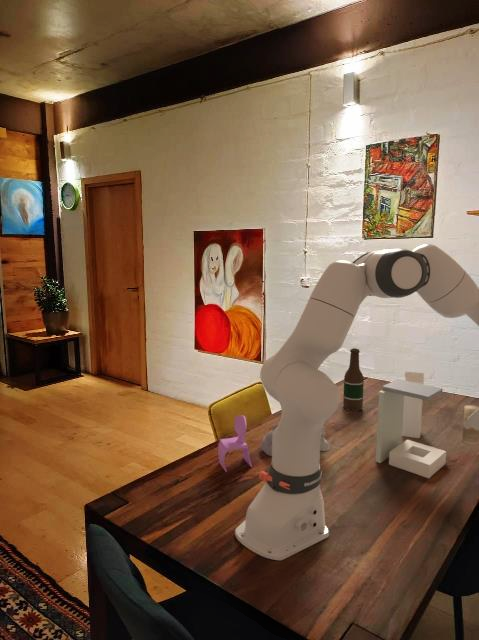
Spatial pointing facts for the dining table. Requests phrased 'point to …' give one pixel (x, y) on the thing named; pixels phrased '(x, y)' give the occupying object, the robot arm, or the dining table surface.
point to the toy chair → (235, 442)
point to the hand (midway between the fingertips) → (469, 423)
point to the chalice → (323, 441)
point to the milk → (412, 408)
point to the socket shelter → (390, 430)
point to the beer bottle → (353, 384)
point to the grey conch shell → (268, 442)
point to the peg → (470, 434)
